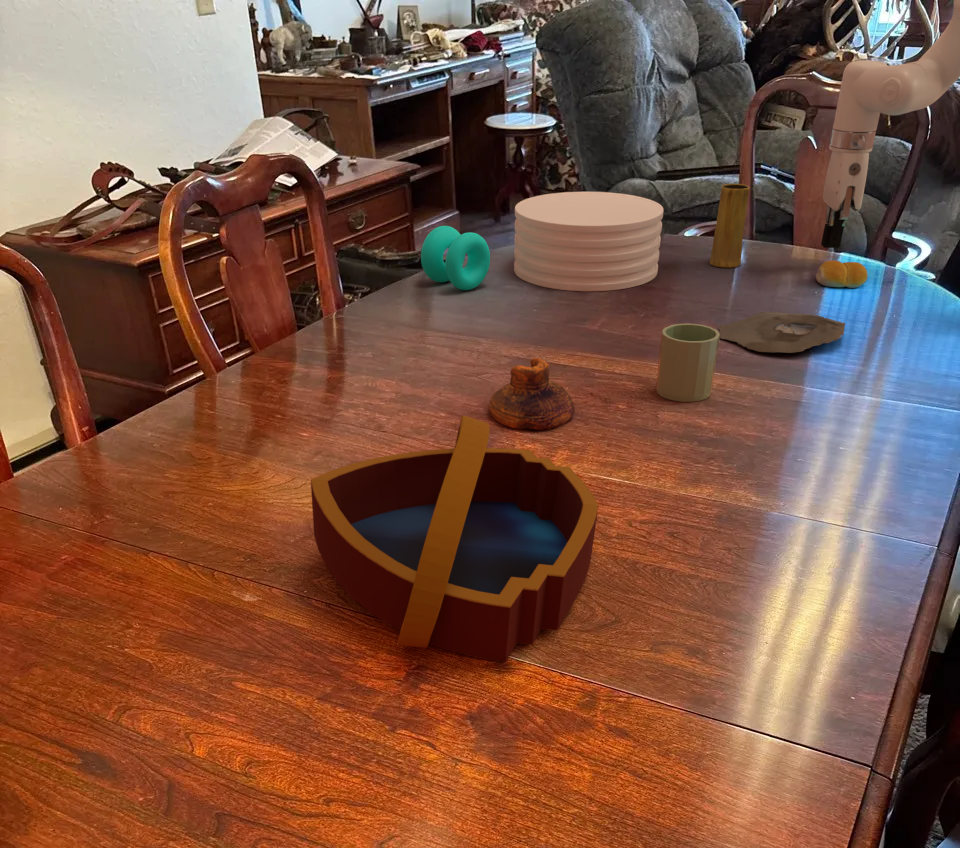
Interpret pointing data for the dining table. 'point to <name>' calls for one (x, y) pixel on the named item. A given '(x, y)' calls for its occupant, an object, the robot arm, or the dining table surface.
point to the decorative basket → (458, 542)
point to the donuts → (455, 257)
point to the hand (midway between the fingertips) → (830, 246)
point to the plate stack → (587, 240)
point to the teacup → (687, 362)
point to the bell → (531, 399)
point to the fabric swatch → (782, 331)
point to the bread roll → (841, 274)
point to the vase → (730, 226)
